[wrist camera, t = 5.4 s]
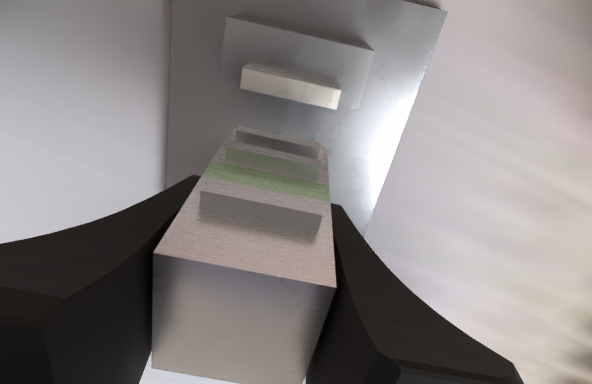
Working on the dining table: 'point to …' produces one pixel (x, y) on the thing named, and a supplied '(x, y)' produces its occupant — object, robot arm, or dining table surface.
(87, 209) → the dining table surface
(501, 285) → the dining table surface
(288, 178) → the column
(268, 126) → the stand
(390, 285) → the robot arm
